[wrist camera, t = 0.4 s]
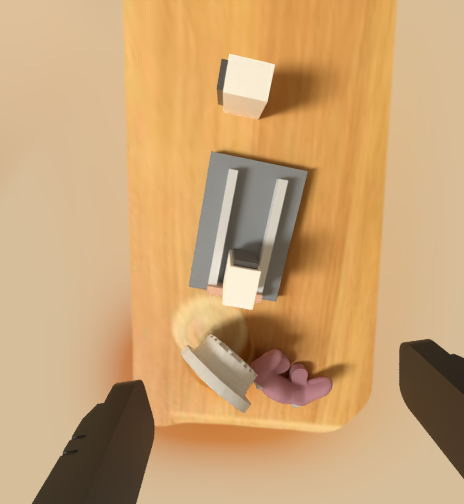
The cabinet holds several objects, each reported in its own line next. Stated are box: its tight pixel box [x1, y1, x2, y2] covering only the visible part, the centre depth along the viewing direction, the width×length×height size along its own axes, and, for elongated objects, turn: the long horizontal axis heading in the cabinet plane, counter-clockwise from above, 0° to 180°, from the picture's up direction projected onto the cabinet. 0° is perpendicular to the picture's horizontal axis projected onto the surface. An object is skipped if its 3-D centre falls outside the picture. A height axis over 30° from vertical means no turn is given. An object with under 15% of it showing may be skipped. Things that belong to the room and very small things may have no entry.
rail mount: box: [189, 151, 308, 310], centre depth 30 cm, size 16×11×8 cm
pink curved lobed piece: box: [250, 349, 332, 408], centre depth 37 cm, size 10×5×7 cm
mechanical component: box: [180, 334, 258, 413], centre depth 34 cm, size 10×4×10 cm, turn 38°
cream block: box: [217, 54, 275, 119], centre depth 28 cm, size 5×3×7 cm, turn 79°
